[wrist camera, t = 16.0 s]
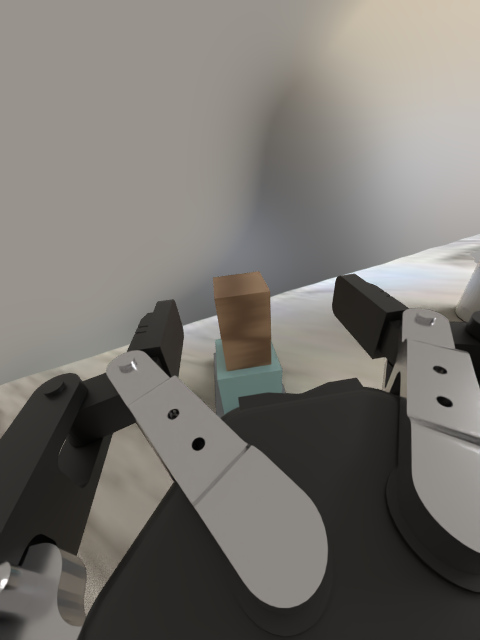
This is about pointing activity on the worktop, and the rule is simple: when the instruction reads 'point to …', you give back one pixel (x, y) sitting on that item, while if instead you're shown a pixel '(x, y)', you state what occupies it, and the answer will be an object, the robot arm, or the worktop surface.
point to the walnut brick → (244, 320)
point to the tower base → (243, 381)
